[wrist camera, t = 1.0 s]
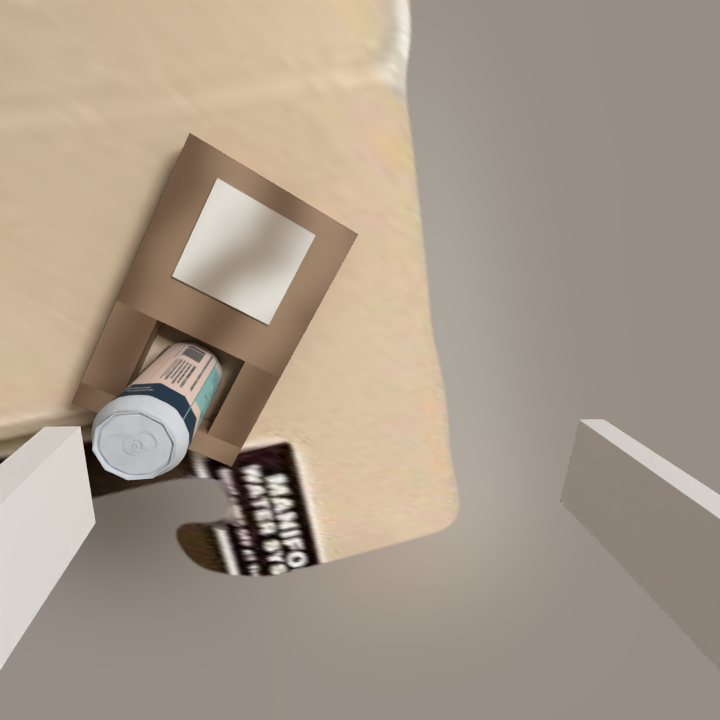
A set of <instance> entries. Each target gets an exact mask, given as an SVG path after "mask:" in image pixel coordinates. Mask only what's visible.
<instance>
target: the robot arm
mask: <svg viewBox="0 0 720 720" xmlns="http://www.w3.org/2000/svg"><path fill="white" fill-rule="evenodd" d="M560 502H561V503H562V504H563V505H564V506H565V507H566V508H567V509H568V510H569V511H570V512H571V514H572V515H573V516H574V517H575V518H576V519H577V520H578V521H579V522H580V523H581V524H582V525H583V526H584V527H585V528H586V530H588V532H589V533H590V534H591V535H592V536H593V537H594V538H595V539H596V540H597V541H598V542H599V543H600V544H601V545H602V547H603V548H604V549H605V550H606V551H607V552H608V553H609V554H610V555H611V556H612V557H613V558H614V559H615V560H616V561H617V562H618V564H619V565H621V567H622V568H623V569H624V570H625V571H626V572H627V573H628V574H629V575H630V576H631V577H632V578H633V579H634V580H635V582H636V583H637V584H638V585H639V586H640V587H641V588H642V589H643V590H644V591H645V592H646V593H647V594H648V595H649V596H650V598H651V599H652V600H653V601H654V602H655V603H656V604H657V605H658V606H659V607H660V608H661V609H662V610H663V611H664V612H665V614H667V615H668V617H669V618H670V619H671V620H672V621H673V622H674V623H675V624H676V625H677V626H678V627H679V628H680V629H681V630H682V632H683V633H684V634H685V635H686V636H687V637H688V638H689V639H690V640H691V641H692V642H693V643H694V644H695V645H696V646H697V648H698V649H699V650H700V651H701V652H702V653H703V654H704V655H705V656H706V657H707V658H708V659H709V660H710V661H711V662H712V663H713V665H714V666H715V667H716V668H717V669H718V670H719V671H720V495H719V494H717V493H716V492H714V491H713V490H711V489H710V488H708V487H706V486H705V485H703V484H702V483H700V482H699V481H697V480H696V479H694V478H693V477H691V476H689V475H688V474H686V473H685V472H683V471H682V470H680V469H679V468H677V467H676V466H674V465H672V464H671V463H670V462H668V461H666V460H665V459H663V458H662V457H660V456H659V455H657V454H656V453H654V452H653V451H651V450H650V449H648V448H647V447H645V446H643V445H642V444H640V443H639V442H637V441H636V440H634V439H633V438H631V437H630V436H628V435H627V434H625V433H623V432H622V431H620V430H619V429H617V428H616V427H614V426H613V425H611V424H610V423H608V422H607V421H605V420H579V424H578V429H577V432H576V437H575V441H574V445H573V449H572V453H571V457H570V462H569V466H568V470H567V474H566V479H565V483H564V487H563V491H562V495H561V499H560ZM94 524H95V517H94V510H93V504H92V497H91V491H90V485H89V478H88V472H87V466H86V459H85V453H84V447H83V440H82V434H81V428H80V426H74V427H44V428H43V429H42V430H41V431H39V432H38V433H37V434H36V435H35V436H33V437H32V438H31V439H30V440H29V441H27V442H26V443H25V444H24V445H23V446H22V447H20V448H19V449H18V450H17V451H16V452H14V453H13V454H12V455H11V456H10V457H9V458H7V459H6V460H5V461H4V462H3V463H1V464H0V669H1V668H2V666H3V665H4V663H5V662H6V660H7V659H8V657H9V655H10V654H11V652H12V651H13V649H14V648H15V646H16V645H17V643H18V642H19V640H20V639H21V637H22V635H23V634H24V632H25V631H26V629H27V628H28V626H29V625H30V623H31V622H32V620H33V618H34V617H35V615H36V614H37V612H38V611H39V609H40V608H41V606H42V605H43V603H44V601H45V600H46V598H47V596H48V595H49V594H50V592H51V591H52V589H53V588H54V586H55V585H56V583H57V581H58V580H59V578H60V577H61V575H62V574H63V572H64V571H65V569H66V568H67V566H68V564H69V563H70V561H71V560H72V558H73V557H74V555H75V554H76V552H77V551H78V549H79V547H80V546H81V544H82V543H83V541H84V539H85V538H86V537H87V535H88V534H89V532H90V530H91V529H92V527H93V526H94Z"/></svg>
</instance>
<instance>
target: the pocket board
mask: <svg viewBox="0 0 720 720" xmlns="http://www.w3.org/2000/svg"><path fill="white" fill-rule="evenodd" d="M357 236H358V234H357V233H355V232H354V231H352V230H350V229H349V228H347V227H345V226H344V225H342V224H340V223H339V222H337V221H335V220H334V219H332V218H330V217H329V216H327V215H325V214H324V213H322V212H320V211H319V210H317V209H315V208H314V207H312V206H310V205H309V204H307V203H305V202H304V201H302V200H300V199H299V198H297V197H295V196H294V195H292V194H290V193H289V192H287V191H285V190H284V189H282V188H280V187H279V186H277V185H275V184H274V183H272V182H270V181H269V180H267V179H265V178H264V177H262V176H260V175H259V174H257V173H255V172H254V171H252V170H250V169H249V168H247V167H245V166H244V165H242V164H241V163H239V162H237V161H236V160H234V159H232V158H231V157H229V156H227V155H226V154H224V153H222V152H221V151H219V150H217V149H216V148H214V147H212V146H211V145H209V144H207V143H206V142H204V141H202V140H201V139H199V138H197V137H196V136H194V135H192V134H191V133H190V134H189V136H188V138H187V140H186V143H185V145H184V147H183V150H182V152H181V154H180V156H179V159H178V161H177V163H176V166H175V168H174V170H173V173H172V175H171V177H170V179H169V182H168V184H167V186H166V189H165V191H164V193H163V195H162V198H161V200H160V202H159V205H158V207H157V209H156V211H155V214H154V216H153V218H152V221H151V223H150V225H149V227H148V230H147V232H146V234H145V237H144V239H143V241H142V243H141V246H140V248H139V250H138V253H137V255H136V257H135V259H134V262H133V264H132V266H131V269H130V271H129V273H128V276H127V278H126V280H125V282H124V285H123V287H122V289H121V292H120V294H119V296H118V298H117V301H116V303H115V305H114V308H113V310H112V312H111V314H110V317H109V319H108V321H107V324H106V326H105V328H104V330H103V333H102V335H101V337H100V340H99V342H98V344H97V346H96V349H95V351H94V353H93V356H92V358H91V360H90V363H89V365H88V367H87V369H86V372H85V374H84V376H83V379H82V381H81V383H80V385H79V388H78V390H77V392H76V395H75V397H74V399H73V401H72V403H73V404H76V405H79V406H81V407H84V408H86V409H89V410H91V411H94V412H96V413H99V411H100V410H101V409H102V408H103V407H104V406H105V405H107V404H108V403H109V402H111V401H112V400H113V399H114V398H115V397H116V396H117V395H118V394H119V393H120V392H121V391H123V390H124V389H125V388H126V387H127V386H128V385H129V384H130V383H131V382H132V381H133V380H134V379H135V378H136V377H137V376H138V373H139V371H140V369H141V367H142V365H143V363H144V361H145V358H146V356H147V354H148V352H149V350H150V348H151V346H152V343H153V341H154V339H155V337H156V335H157V333H158V330H159V328H160V326H161V324H162V322H163V323H165V324H167V325H169V326H171V327H174V328H176V329H178V330H180V331H182V332H184V333H186V334H188V335H190V336H193V337H195V338H197V339H199V340H201V341H203V342H205V343H207V344H210V345H212V346H214V347H216V348H218V349H220V350H222V351H224V352H226V353H229V354H231V355H233V356H235V357H237V358H239V359H241V360H243V361H244V363H243V365H242V367H241V369H240V371H239V372H238V374H237V376H236V378H235V380H234V382H233V384H232V386H231V388H230V390H229V392H228V394H227V396H226V397H225V399H224V401H223V403H222V405H221V407H220V409H219V411H218V413H217V415H216V417H215V419H214V420H213V421H210V420H208V419H205V418H203V419H202V421H201V423H200V425H199V427H198V429H197V431H196V433H195V435H194V437H193V439H192V442H191V444H190V446H189V448H188V449H189V450H191V451H194V452H196V453H199V454H201V455H204V456H206V457H209V458H211V459H214V460H216V461H219V462H221V463H224V464H226V465H229V466H232V465H233V463H234V461H235V459H236V457H237V455H238V454H239V452H240V450H241V448H242V446H243V444H244V443H245V441H246V439H247V437H248V435H249V433H250V432H251V430H252V428H253V426H254V424H255V422H256V421H257V419H258V417H259V415H260V413H261V411H262V410H263V408H264V406H265V404H266V402H267V400H268V399H269V397H270V395H271V393H272V391H273V389H274V388H275V386H276V384H277V382H278V380H279V378H280V377H281V375H282V373H283V371H284V369H285V367H286V366H287V364H288V362H289V360H290V358H291V356H292V355H293V353H294V351H295V349H296V347H297V345H298V344H299V342H300V340H301V338H302V336H303V334H304V333H305V331H306V329H307V327H308V325H309V323H310V322H311V320H312V318H313V316H314V314H315V312H316V311H317V309H318V307H319V305H320V303H321V302H322V300H323V298H324V296H325V294H326V292H327V291H328V289H329V287H330V285H331V283H332V281H333V280H334V278H335V276H336V274H337V272H338V270H339V269H340V267H341V265H342V263H343V261H344V259H345V258H346V256H347V254H348V252H349V250H350V248H351V247H352V245H353V243H354V241H355V239H356V237H357Z"/></svg>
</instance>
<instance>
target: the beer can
mask: <svg viewBox="0 0 720 720" xmlns="http://www.w3.org/2000/svg"><path fill="white" fill-rule="evenodd" d="M221 378H222V369H221V366H220V363H219V361H218V359H217V357H216V356H215V354H214V353H213V352H212V351H211V350H209V349H208V348H206V347H204V346H203V345H201V344H198V343H194V342H179V343H175V344H173V345H171V346H169V347H168V348H166V349H165V350H164V351H163V352H162V353H161V354H160V355H159V356H158V357H157V358H156V359H155V360H154V361H153V362H152V363H151V364H150V365H149V366H148V367H147V368H146V369H145V370H144V371H143V372H142V373H140V374H139V375H138V376H137V377H136V378H135V379H134V380H133V381H132V382H131V383H130V384H129V385H128V386H127V387H126V388H125V389H124V390H123V391H121V392H120V393H119V394H118V395H117V396H116V397H115V398H114V399H113V400H112V401H111V402H109V403H108V404H107V405H105V406H104V407H103V408H102V409H101V410H100V411H99V413H98V414H97V416H96V418H95V419H94V422H93V426H92V433H91V437H92V445H93V447H92V450H93V452H94V454H95V455H96V457H97V458H98V460H99V461H100V463H101V465H102V466H103V468H104V469H105V470H107V471H109V472H111V473H113V474H115V475H117V476H120V477H122V478H124V479H126V480H137V479H149V478H154V477H155V476H159V475H162V474H164V473H166V472H168V471H170V470H172V469H173V468H174V467H175V466H177V465H178V464H179V463H180V462H181V460H182V459H183V458H184V456H185V454H186V452H187V450H188V448H189V446H190V444H191V442H192V439H193V437H194V435H195V433H196V431H197V429H198V427H199V425H200V423H201V421H202V419H203V417H204V415H205V413H206V411H207V409H208V407H209V405H210V403H211V401H212V399H213V397H214V395H215V393H216V391H217V388H218V387H219V385H220V381H221Z"/></svg>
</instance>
